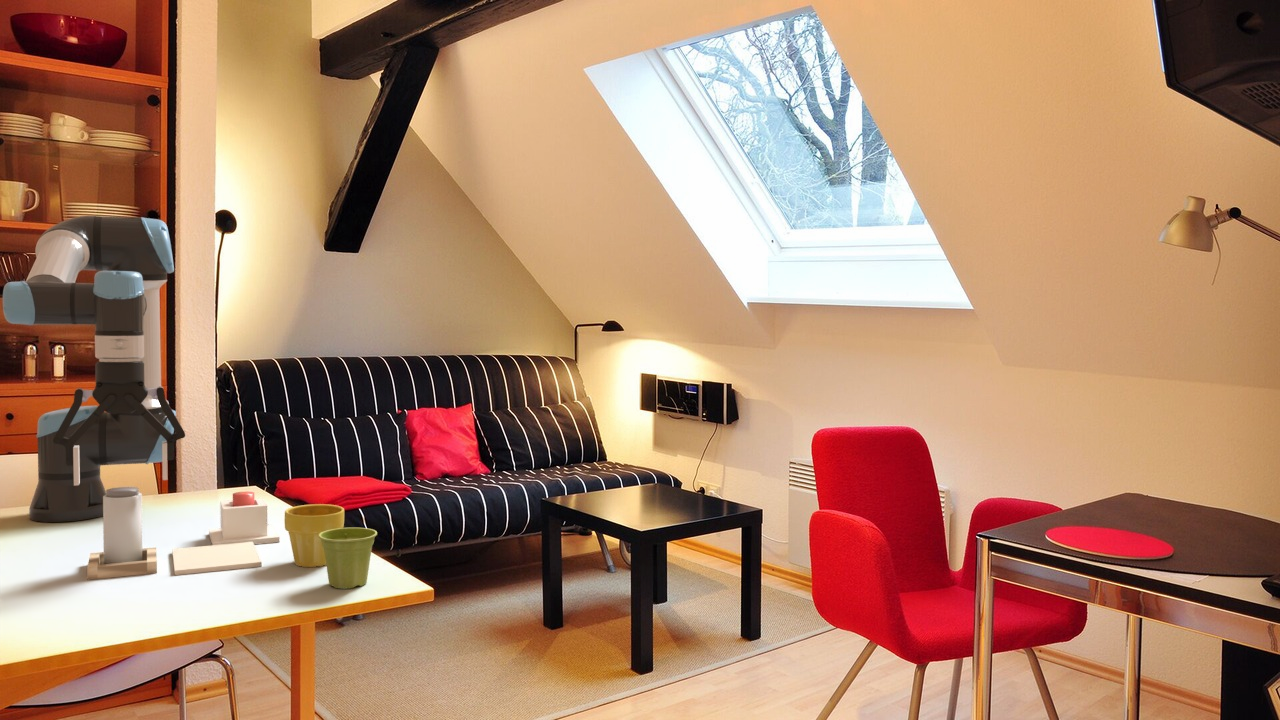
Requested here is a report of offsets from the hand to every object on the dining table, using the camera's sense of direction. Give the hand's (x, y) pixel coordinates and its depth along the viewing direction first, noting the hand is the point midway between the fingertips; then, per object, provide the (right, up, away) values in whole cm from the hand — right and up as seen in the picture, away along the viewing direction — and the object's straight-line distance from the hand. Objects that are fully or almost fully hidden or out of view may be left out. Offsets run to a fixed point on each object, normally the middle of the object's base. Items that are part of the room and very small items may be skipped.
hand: (121, 481), depth 171 cm
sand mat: (+13, -15, +8) cm, 22 cm away
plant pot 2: (+41, -17, -6) cm, 45 cm away
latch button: (+12, -10, +24) cm, 28 cm away
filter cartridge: (0, -15, +1) cm, 15 cm away
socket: (0, -15, +1) cm, 16 cm away
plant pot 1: (+31, -16, +7) cm, 36 cm away
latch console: (+12, -14, +24) cm, 30 cm away
